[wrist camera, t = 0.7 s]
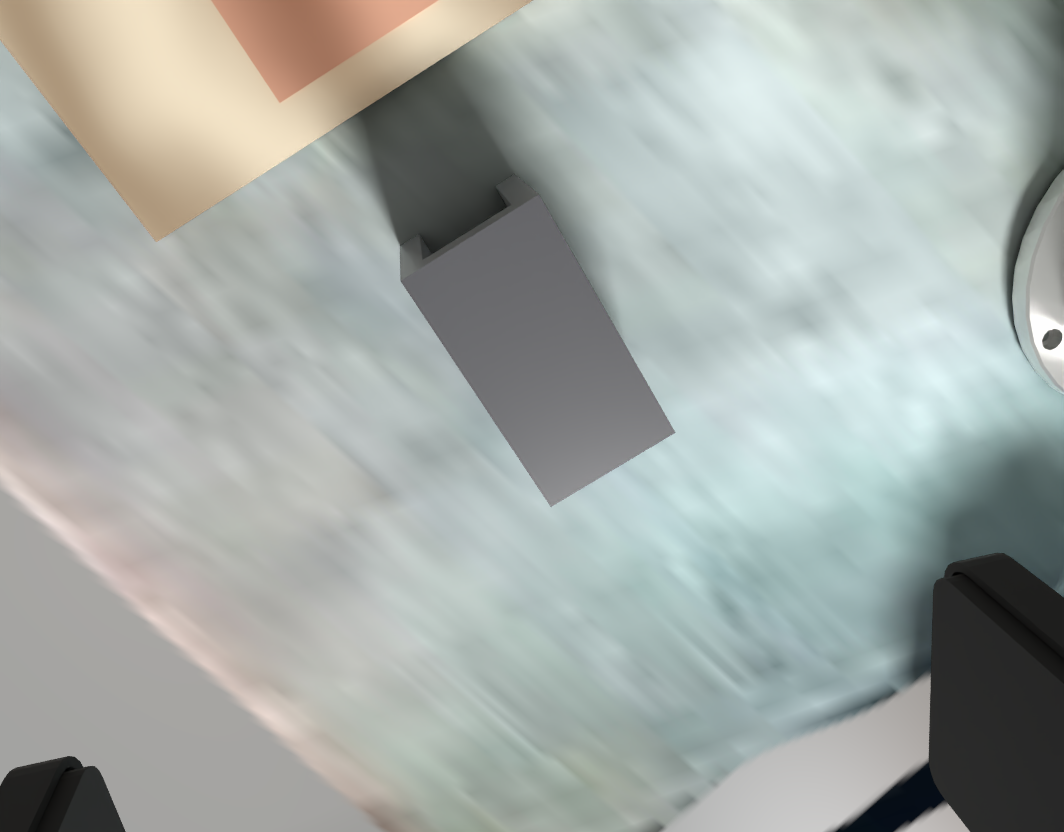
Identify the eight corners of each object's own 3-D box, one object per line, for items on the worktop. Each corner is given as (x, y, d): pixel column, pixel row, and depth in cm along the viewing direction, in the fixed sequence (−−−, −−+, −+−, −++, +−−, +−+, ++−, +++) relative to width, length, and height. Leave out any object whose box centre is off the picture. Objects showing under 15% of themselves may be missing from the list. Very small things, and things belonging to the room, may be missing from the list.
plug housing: (514, 173, 32) (538, 194, 26) (631, 376, 35) (675, 432, 29) (400, 245, 32) (400, 280, 26) (526, 439, 35) (550, 506, 30)
